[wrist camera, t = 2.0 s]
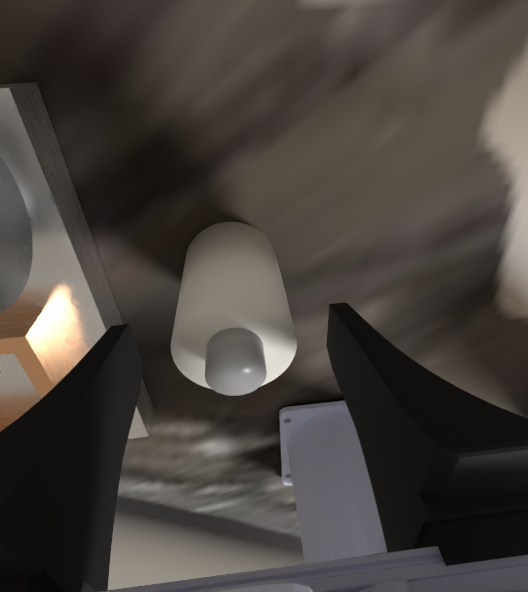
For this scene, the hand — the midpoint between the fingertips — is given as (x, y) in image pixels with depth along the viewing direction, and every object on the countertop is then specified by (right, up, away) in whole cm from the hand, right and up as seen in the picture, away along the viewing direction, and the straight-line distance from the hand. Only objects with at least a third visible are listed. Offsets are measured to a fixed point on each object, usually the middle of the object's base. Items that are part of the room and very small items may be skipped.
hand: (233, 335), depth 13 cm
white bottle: (0, +3, +4) cm, 5 cm away
